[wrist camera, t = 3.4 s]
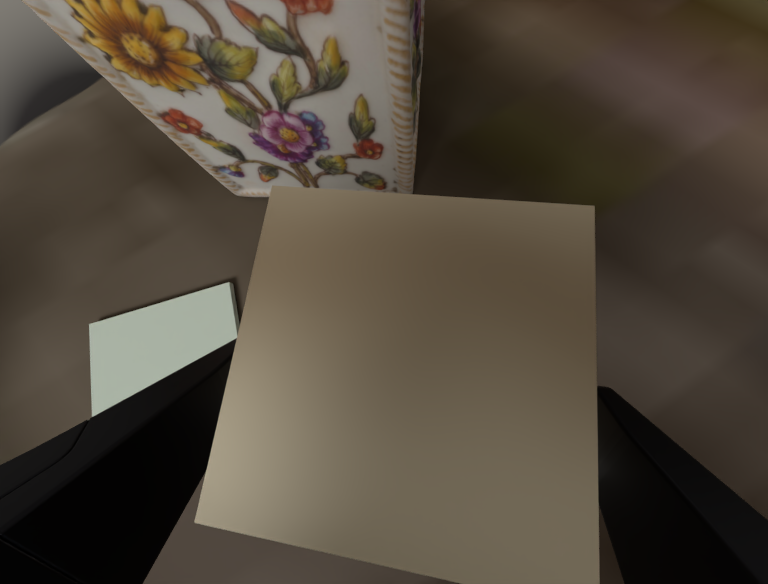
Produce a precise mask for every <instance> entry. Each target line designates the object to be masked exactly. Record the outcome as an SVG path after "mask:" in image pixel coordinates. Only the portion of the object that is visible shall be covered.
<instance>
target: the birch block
mask: <svg viewBox="0 0 768 584" xmlns="http://www.w3.org/2000/svg"><path fill="white" fill-rule="evenodd" d="M194 523H198V524H202V525H206V526H211V527H215V528H220V529H224V530H228V531H233V532H237V533H242V534H246V535H250V536H255V537H259V538H264V539H268V540H272V541H277V542H281V543H286V544H290V545H294V546H299V547H303V548H308V549H312V550H316V551H321V552H325V553H329V554H334V555H338V556H343V557H347V558H351V559H356V560H360V561H365V562H369V563H373V564H378V565H382V566H387V567H391V568H395V569H400V570H404V571H409V572H413V573H417V574H422V575H426V576H431V577H435V578H439V579H444V580H448V581H452V582H457V583H461V584H600V580H599V503H598V426H597V349H596V272H595V206H589V205H573V204H558V203H542V202H526V201H510V200H494V199H478V198H463V197H447V196H431V195H415V194H399V193H384V192H368V191H352V190H336V189H320V188H304V187H289V186H273V185H272V188H271V192H270V197H269V201H268V205H267V210H266V214H265V218H264V223H263V227H262V232H261V236H260V240H259V245H258V249H257V253H256V258H255V262H254V266H253V271H252V275H251V279H250V284H249V288H248V292H247V297H246V301H245V305H244V310H243V314H242V318H241V323H240V327H239V331H238V336H237V340H236V344H235V349H234V353H233V357H232V362H231V366H230V370H229V375H228V379H227V383H226V388H225V392H224V396H223V401H222V405H221V409H220V414H219V418H218V422H217V427H216V431H215V435H214V440H213V444H212V448H211V453H210V457H209V461H208V466H207V470H206V474H205V479H204V483H203V487H202V492H201V496H200V501H199V505H198V509H197V514H196V518H195V522H194Z"/></svg>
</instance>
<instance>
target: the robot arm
mask: <svg viewBox="0 0 768 584" xmlns="http://www.w3.org/2000/svg"><path fill="white" fill-rule="evenodd" d="M236 340H237V338H236V339H234V340H232V341H230V342H228V343H227V344H225V345H223V346H221V347H219V348H218V349H216V350H214V351H212V352H210V353H208V354H207V355H205V356H203V357H201V358H199V359H197V360H196V361H194V362H192V363H190V364H188V365H186V366H185V367H183V368H181V369H179V370H177V371H175V372H174V373H172V374H170V375H168V376H166V377H165V378H163V379H161V380H159V381H157V382H155V383H154V384H152V385H150V386H148V387H146V388H144V389H143V390H141V391H139V392H137V393H135V394H133V395H132V396H130V397H128V398H126V399H124V400H122V401H121V402H119V403H117V404H115V405H113V406H111V407H110V408H108V409H106V410H104V411H102V412H101V413H99V414H97V415H95V416H93V417H92V418H90V420H86V421H84V422H82V423H80V424H78V425H77V426H75V427H73V428H71V429H69V430H68V431H66V432H64V433H62V434H60V435H58V436H56V437H54V438H52V439H51V440H49V441H47V442H45V443H43V444H41V445H39V446H37V447H36V448H34V449H32V450H30V451H28V452H26V453H24V454H22V455H20V456H18V457H16V458H14V459H12V460H10V461H8V462H6V463H4V464H2V465H0V584H143V582H144V580H145V579H146V577H147V575H148V573H149V571H150V570H151V568H152V566H153V564H154V562H155V561H156V559H157V557H158V555H159V554H160V552H161V550H162V548H163V546H164V545H165V543H166V541H167V539H168V538H169V536H170V534H171V532H172V530H173V529H174V527H175V525H176V523H177V522H178V520H179V518H180V516H181V514H182V513H183V511H184V509H185V507H186V505H187V504H188V502H189V500H190V498H191V497H192V495H193V493H194V491H195V489H196V488H197V486H198V484H199V482H200V481H201V479H202V477H203V475H204V473H205V472H206V470H207V466H208V461H209V457H210V453H211V448H212V444H213V440H214V435H215V431H216V427H217V422H218V418H219V414H220V409H221V405H222V401H223V396H224V392H225V388H226V383H227V379H228V375H229V370H230V366H231V362H232V357H233V353H234V349H235V344H236ZM597 426H598V503H599V506H600V509H601V512H602V515H603V518H604V521H605V524H606V527H607V531H608V534H609V537H610V540H611V543H612V546H613V549H614V552H615V555H616V558H617V562H618V565H619V568H620V571H621V574H622V577H623V580H624V583H625V584H768V520H767V519H766V518H764V517H763V516H762V515H761V514H760V513H758V512H757V511H756V510H755V509H754V508H752V507H751V506H750V505H749V504H748V503H747V502H745V501H744V500H743V499H742V498H741V497H739V496H738V495H737V494H736V493H735V492H734V491H732V490H731V489H730V488H729V487H728V486H726V485H725V484H724V483H723V482H722V481H720V480H719V479H718V478H717V477H716V476H715V475H713V474H712V473H711V472H710V471H709V470H707V469H706V468H705V467H704V466H703V465H701V464H700V463H699V462H698V461H697V460H696V459H694V458H693V457H692V456H691V455H690V454H688V453H687V452H686V451H685V450H684V449H683V448H681V447H680V446H679V445H678V444H677V443H675V442H674V441H673V440H672V439H671V438H669V437H668V436H667V435H666V434H665V433H664V432H662V431H661V430H660V429H659V428H658V427H656V426H655V425H654V424H653V423H652V422H651V421H649V420H648V419H647V418H646V417H645V416H643V415H642V414H641V413H640V412H639V411H637V410H636V409H635V408H634V407H633V406H632V405H630V404H629V403H628V402H627V401H626V400H624V399H623V398H622V397H621V396H620V395H618V394H617V393H616V392H615V391H614V390H612V389H611V388H609V387H603V386H597Z"/></svg>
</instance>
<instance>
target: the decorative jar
mask: <svg viewBox="0 0 768 584" xmlns="http://www.w3.org/2000/svg"><path fill="white" fill-rule="evenodd" d="M22 1H23V2H24V3H25V4H27V5H28V6H29V7H30V8H31V9H32V10H33V11H34V12H35V13H36V14H37V15H38V16H39V17H40V18H41V19H42V20H43V21H44V22H45V23H46V24H48V25H49V27H50V28H52V30H53V31H54V32H56V33H57V34H58V35H59V36H60V37H61V38H62V39H63V40H64V41H65V42H67V43H68V44H69V45H70V46H71V47H72V48H73V49H74V50H75V51H76V52H77V53H78V54H79V55H80V56H81V57H82V58H83V59H85V60H86V62H88V63H89V64H90V65H91V66H92V67H93V68H94V69H95V70H97V71H98V72H99V73H100V74H101V75H102V76H103V77H104V78H105V79H107V80H108V81H109V82H110V83H111V84H112V85H113V86H114V87H115V88H116V89H117V90H118V91H120V92H121V93H122V95H123V96H124V97H125V98H126V99H128V100H129V101H130V102H131V103H132V104H133V105H134V106H135V107H136V108H137V109H138V110H139V111H140V112H142V113H143V114H144V115H145V116H146V117H147V118H148V119H149V120H150V121H152V122H153V123H154V124H155V125H156V126H157V127H158V128H159V129H160V130H161V131H162V132H164V133H165V134H166V135H167V136H168V137H169V138H170V139H172V140H173V141H174V142H175V143H176V144H177V145H178V146H179V147H180V148H181V149H183V150H184V151H185V152H186V153H187V154H188V155H189V156H191V157H192V158H193V159H194V160H195V161H196V162H197V163H198V164H199V165H201V166H202V167H203V168H204V169H205V170H206V171H208V172H209V173H210V174H211V175H212V176H213V177H214V178H216V179H217V180H218V181H219V182H220V183H221V184H223V185H224V186H225V187H226V188H228V189H229V190H230V191H231V192H232V193H234V194H235V195H237V196H245V197H270V192H271V188H272V185H273V186H289V187H304V188H320V189H336V190H352V191H368V192H384V193H399V194H412V193H413V183H414V173H415V162H416V148H417V134H418V117H419V103H420V101H419V98H420V85H421V73H422V60H423V35H424V2H425V0H22Z"/></svg>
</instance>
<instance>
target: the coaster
mask: <svg viewBox="0 0 768 584" xmlns="http://www.w3.org/2000/svg"><path fill="white" fill-rule="evenodd" d="M239 327H240V325H239V318H238V312H237V306H236V299H235V293H234V286H233V283H230V282H228V283H224V284H221V285H218V286H214V287H211V288H208V289H204V290H201V291H198V292H195V293H191V294H188V295H185V296H181V297H178V298H175V299H171V300H168V301H165V302H161V303H158V304H155V305H151V306H148V307H145V308H142V309H138V310H135V311H132V312H128V313H125V314H122V315H118V316H115V317H112V318H108V319H105V320H102V321H99V322H95V323H92V324H89V332H90V364H91V395H92V417H93V416H95V415H97V414H99V413H101V412H102V411H104V410H106V409H108V408H110V407H111V406H113V405H115V404H117V403H119V402H121V401H122V400H124V399H126V398H128V397H130V396H132V395H133V394H135V393H137V392H139V391H141V390H143V389H144V388H146V387H148V386H150V385H152V384H154V383H155V382H157V381H159V380H161V379H163V378H165V377H166V376H168V375H170V374H172V373H174V372H175V371H177V370H179V369H181V368H183V367H185V366H186V365H188V364H190V363H192V362H194V361H196V360H197V359H199V358H201V357H203V356H205V355H207V354H208V353H210V352H212V351H214V350H216V349H218V348H219V347H221V346H223V345H225V344H227V343H228V342H230V341H232V340H234V339H236V338H237V336H238V331H239Z"/></svg>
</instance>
